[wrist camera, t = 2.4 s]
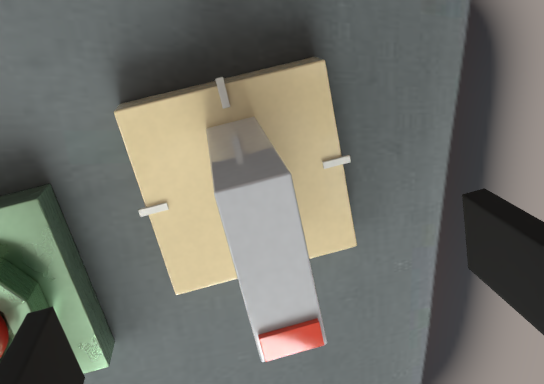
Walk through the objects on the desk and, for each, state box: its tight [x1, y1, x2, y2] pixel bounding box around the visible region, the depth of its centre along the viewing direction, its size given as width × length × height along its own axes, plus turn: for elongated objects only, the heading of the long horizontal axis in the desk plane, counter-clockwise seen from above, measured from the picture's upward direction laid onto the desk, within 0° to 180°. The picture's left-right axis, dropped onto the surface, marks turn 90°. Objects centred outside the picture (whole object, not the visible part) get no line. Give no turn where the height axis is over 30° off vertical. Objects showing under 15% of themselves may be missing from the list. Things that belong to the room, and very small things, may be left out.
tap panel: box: [114, 57, 357, 295], centre depth 25 cm, size 11×11×2 cm
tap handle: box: [206, 117, 327, 362], centre depth 20 cm, size 6×2×9 cm, turn 12°
